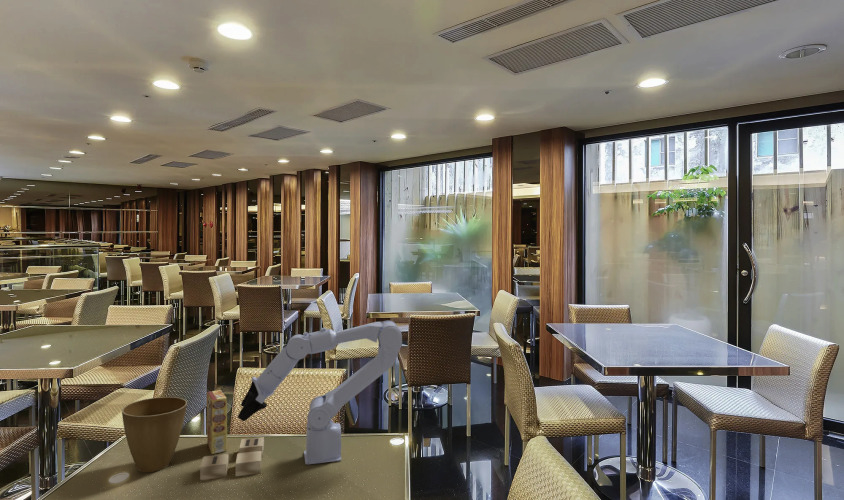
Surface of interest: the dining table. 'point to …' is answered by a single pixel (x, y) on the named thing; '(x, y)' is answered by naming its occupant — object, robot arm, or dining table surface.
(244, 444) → the numbered block eleven
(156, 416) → the plant pot
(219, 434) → the candy box
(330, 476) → the dining table surface
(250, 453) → the plain block
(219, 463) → the numbered block one
